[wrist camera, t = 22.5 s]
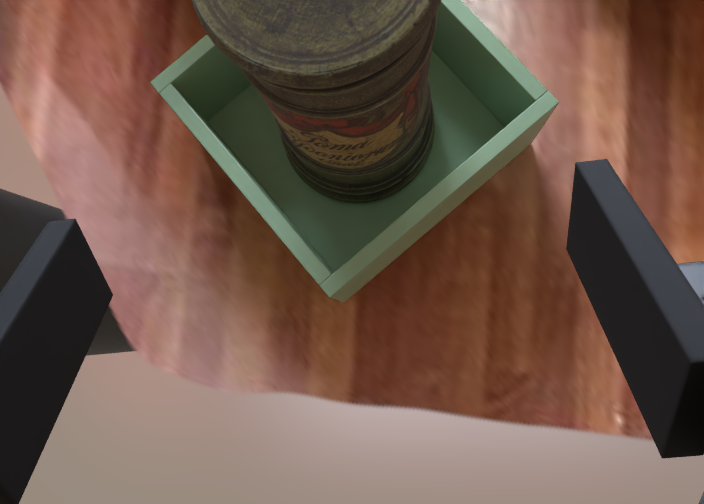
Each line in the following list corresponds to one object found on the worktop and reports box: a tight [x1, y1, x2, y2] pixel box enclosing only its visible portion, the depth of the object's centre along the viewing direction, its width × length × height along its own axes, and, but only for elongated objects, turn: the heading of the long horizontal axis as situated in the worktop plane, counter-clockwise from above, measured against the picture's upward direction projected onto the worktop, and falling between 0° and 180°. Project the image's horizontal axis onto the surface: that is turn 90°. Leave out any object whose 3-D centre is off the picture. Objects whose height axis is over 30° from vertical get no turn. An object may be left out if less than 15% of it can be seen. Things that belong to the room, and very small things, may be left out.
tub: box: [150, 0, 559, 303], centre depth 34 cm, size 15×15×7 cm
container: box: [192, 0, 441, 203], centre depth 28 cm, size 9×9×18 cm
